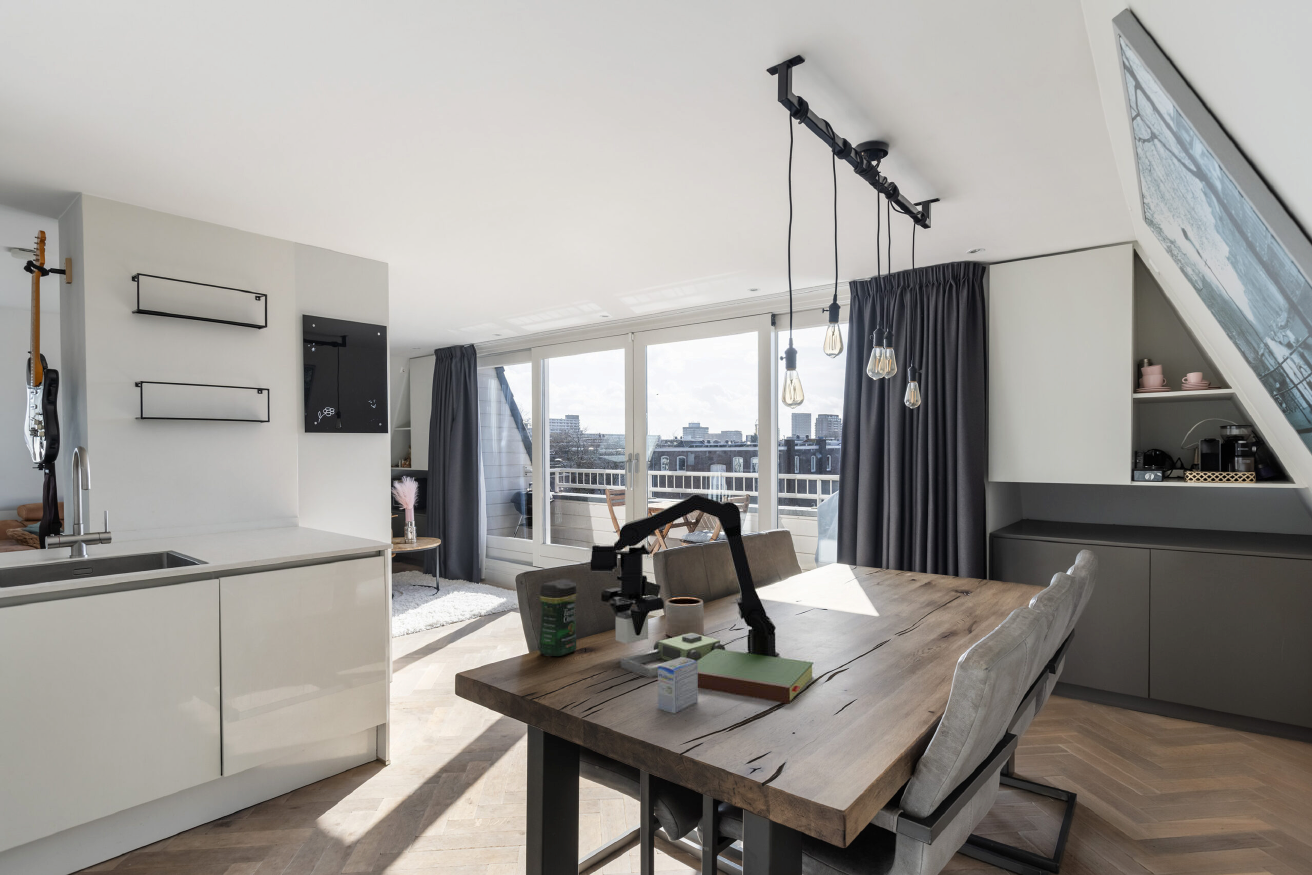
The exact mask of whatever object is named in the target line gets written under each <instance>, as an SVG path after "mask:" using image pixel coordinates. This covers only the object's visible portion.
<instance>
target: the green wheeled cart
mask: <svg viewBox="0 0 1312 875" xmlns="http://www.w3.org/2000/svg"><path fill="white" fill-rule="evenodd" d="M657 649H658V650H660V652H661V658H660V659H663V660H665V661H667V662H668V661H672V660H675V659H677V658H680V657H684V658H688V659H692V660H695V661H698V660H699V659H701V658H702V657H704V656H705V655H707V654H708V653H710V652H711V651H713V650H715V649H721V650H726V646H725V645H724V644H721V640H720V639H717V638H712V637H709V636H705V635H698V634H695V633H689V634H682V635H681V636H678V637H674V638H671V637H670V638H667V639H663V640H657V641H656V642H655V643H654V645H653V650H657Z"/></svg>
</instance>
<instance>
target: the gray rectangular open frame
mask: <svg viewBox="0 0 1312 875" xmlns="http://www.w3.org/2000/svg"><path fill="white" fill-rule="evenodd" d="M660 659H662V658H661V652H660V650H658V649H657V650H654V649H653V650H649V651H645V652H642V653H639V654H635V655H631V656H628V657H623V658H620V668H621V669H624V670H626V671H629V672H632V673H634V674H637V675H640V676H643V677H646V678H648V679H651V678H654V677H658V666H660V665H662V664H664V663H667V662H669V661H668V660H667V661H665V662H662V663H659V664H655V665H652V666H651V665H650V666H649V665H646V663H648V662H653V661H657V660H660Z"/></svg>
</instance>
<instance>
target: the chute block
mask: <svg viewBox="0 0 1312 875" xmlns="http://www.w3.org/2000/svg"><path fill="white" fill-rule="evenodd" d="M648 639H649V614H648V615H647V617H646V619H645V622H644V625H643V628H642V631H641V634H640V635H638V636H637V635H636V633H635V630H634V625H633V621H632V616H631V611H630V610H629V611H625V612H620V613H617V616H616V615H615V641H617V642H620V643H622V644H626V645H628V644H632V643H638V642H640V641H646V640H648Z"/></svg>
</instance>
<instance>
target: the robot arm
mask: <svg viewBox="0 0 1312 875" xmlns="http://www.w3.org/2000/svg"><path fill="white" fill-rule="evenodd" d="M696 511H698V512H702V513H704V514H706V515H710V516H712V517H715V518H717V520H718V523H719V525H720V527H721V529H722V531H723V533H724V536H725V537H726V541H727V544H728V545H727V546H728V549H729V552H730V556H731V561H732V564H733V567H734V571H735V576H736V579H737V583H738V588H739V597H735V598H734V599H735V602H736V604H737V607H738V610H737V611H738V615H739V617H740V619H741V620H744V623H745V624H746V625H747V626H748V627H749V628H751V629H748V630H747V631H748V632H747V633H748V634H747V635H746V636H747V640H746V641H747V652H745V653H750V654H757V655H764V656H771V657H779V656H780V653H779V652H777V651H776V650H777V649H776V628H777V627H776V626H775V624H774V623H773V621H772V619H771V618H770V617H769V616H768V615H767V611H766V610H765V607H764V605H763V604H762V601H761V599H760V597H759V595H758V592H757V591H756V588H755V584H754V581H753V580H754V579H753V576H752V572H751V568H750V565H749V564H750V563H749V561H748V556H747V553H746V550H745V546H744V542H743V538H742V519H741V518H742V517H741V510H740V508H739V507H738V505H737V504H735V503H734V502H732V501H730V500H723V501H718V500H715V499H711V498H708V497H705V496H702V495H701V494H699V493H693V494H691V495H690V496H689V497H687V498H685V499H683V500H681V501H679V502H676V503H675V504H672V505H671V506H668V507H667V508H665V509H663V510H661V511H658V512H657V513H654V514H652V515H650V516H646V517H642V518H638V519H635V520H631V521H628V522H626V523H625V524H624V525H623V526H622V527H621V529H620V531H619V538H618V539H617V541H616V540H615V542H614V544H613V545H600V544H593V545H592V546H591V548H592V549H591V557H590V571H591V573H605V572H606V573H614V570H615V569H617V568H619V565H620V568H619V569H620V575H617V576H616V581H620V583H619V584H620V586H619V587H612V588H608V589H603V591H602V592H601V596H600V597H601V598H600V599H601V600H600V601H601V602H604V603H609V602H610V601H611V603H609V607H611V609H612V610H613V613H614V615H615V617H616V616H617V613H620V612H625V611H631V616H632V621H633V625H634V630H635V633H636V635H637V636H638V635H640V634H641V631H642V628H643V625H644V622H645V619H646V617H647V615H648V616H649V614H650V613H651V612H654V611H659V610H663V609H665V600H664V599H663V598H662V597H661V596H659V595H660V591H661V588H662V586H661V584H658V583H656V582H655V583H654V582H651V581H648V577H647V575H645V574H644V571H643V570H644V566H643V564H644V563H643V562H644V560H643V557H644V556H643V555H646V556H647V555H650V553H651V550H650V549H648V547H646V545H645V544H644V543H642V541H644V540H645V539H647V538H648V537H650V535H651V534H653V533H654V532H656V531H658V530H659V529H661V528H663V527H664V526H667V525H670V524H671V523H673V522H675V521H678V520H680V519H681V518H683V517H686V516H687V515H689V514H692V513H694V512H696ZM640 543H642V545H641V546H640V547H639V546H638V547H637V545H638V544H640ZM627 547H628V550H624V549H625V548H627ZM619 558H620V561H619ZM619 562H620V564H619ZM633 604H634V605H635V608H633V609H631V608H632V606H633Z"/></svg>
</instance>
